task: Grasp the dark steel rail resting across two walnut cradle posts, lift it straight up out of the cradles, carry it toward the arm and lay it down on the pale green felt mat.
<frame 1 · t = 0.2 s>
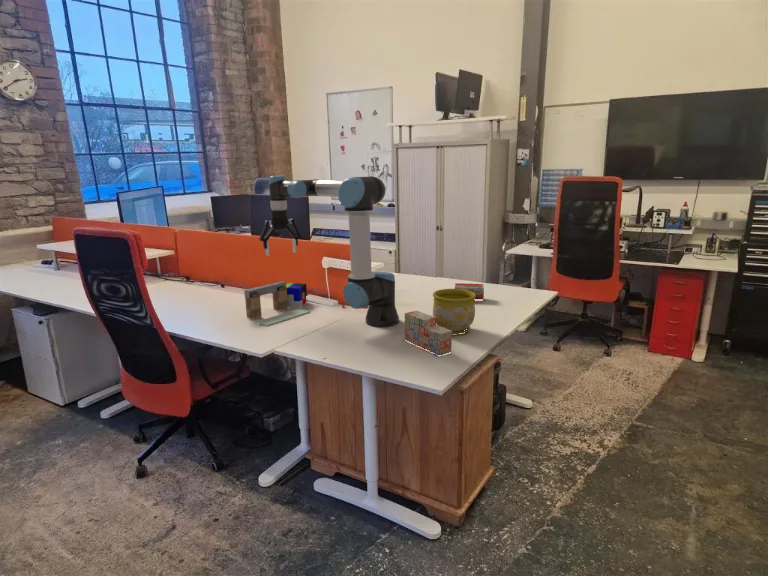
hand: (281, 254, 237), 28 cm above the table, tool pointing down, fingers open, 13 cm apart
puzzle toy: (294, 304, 254), on the table
mat: (283, 317, 232), on the table
medicine box: (468, 300, 259), on the table
flowerpot: (453, 331, 212), on the table
rail: (266, 293, 237), point 10 cm above the table, touching stand
stack of blocks: (427, 348, 193), on the table
stand: (267, 312, 240), on the table
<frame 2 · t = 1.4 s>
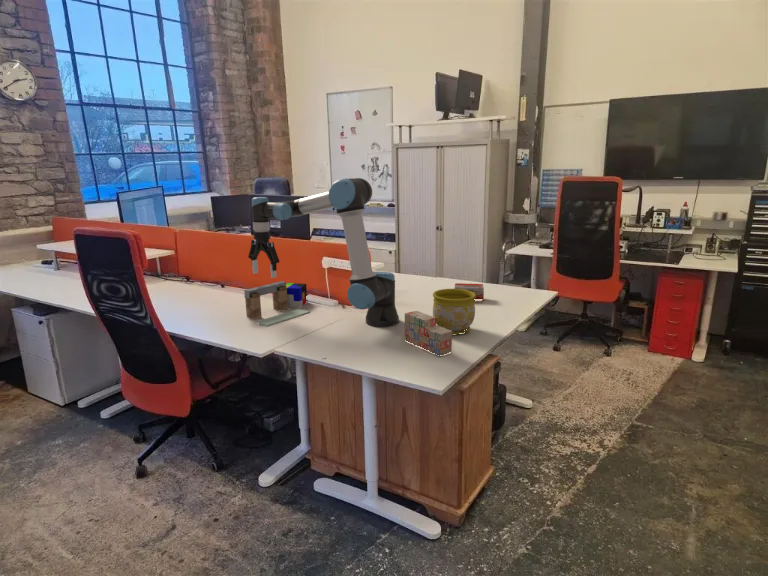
hand: (264, 275, 235), 19 cm above the table, tool pointing down, fingers open, 13 cm apart
nothing on the table moved.
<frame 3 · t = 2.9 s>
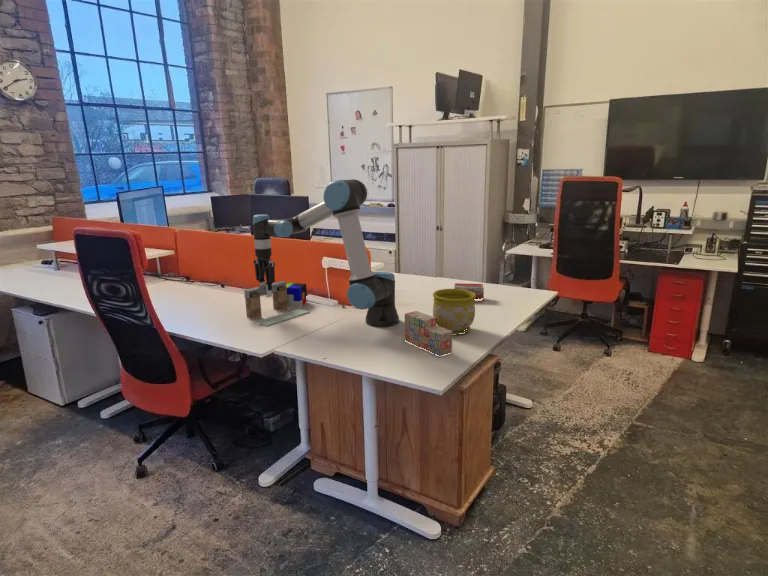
hand: (266, 295, 238), 9 cm above the table, tool pointing down, fingers closed on rail, 3 cm apart
rail: (266, 293, 237), point 10 cm above the table, touching gripper, stand
everything else where it was.
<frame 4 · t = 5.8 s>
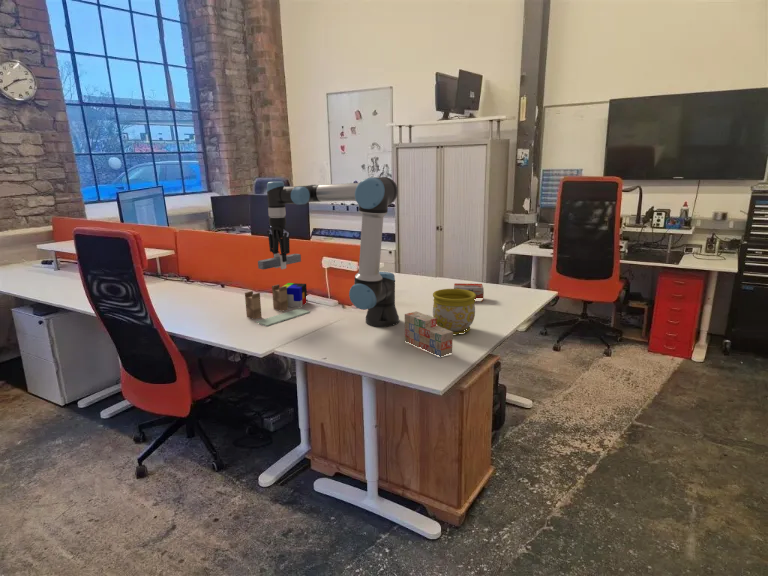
hand: (280, 268, 227), 24 cm above the table, tool pointing down, fingers closed on rail, 3 cm apart
rail: (280, 264, 226), point 25 cm above the table, touching gripper
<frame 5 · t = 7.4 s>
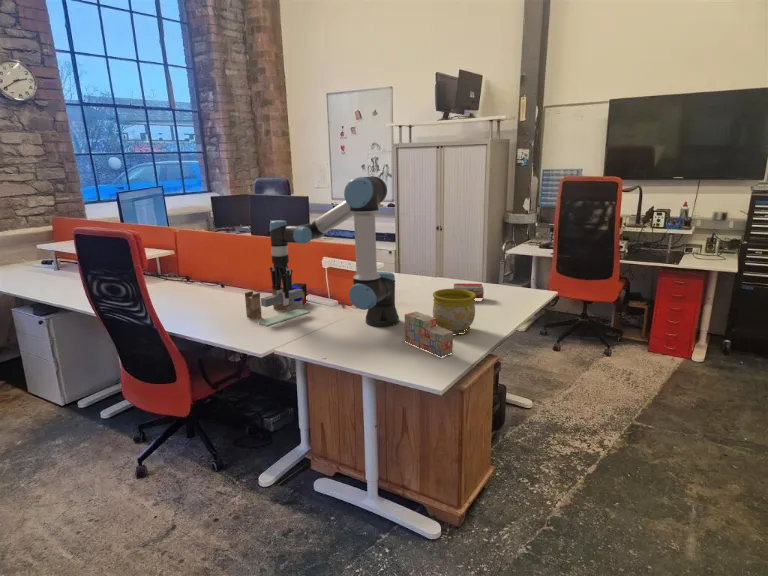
hand: (283, 304, 231), 7 cm above the table, tool pointing down, fingers closed on rail, 3 cm apart
rail: (282, 301, 230), point 8 cm above the table, touching gripper
when the fingers open (1 cm above the table, at t = 8.8 s): rail drops 2 cm, resting on mat.
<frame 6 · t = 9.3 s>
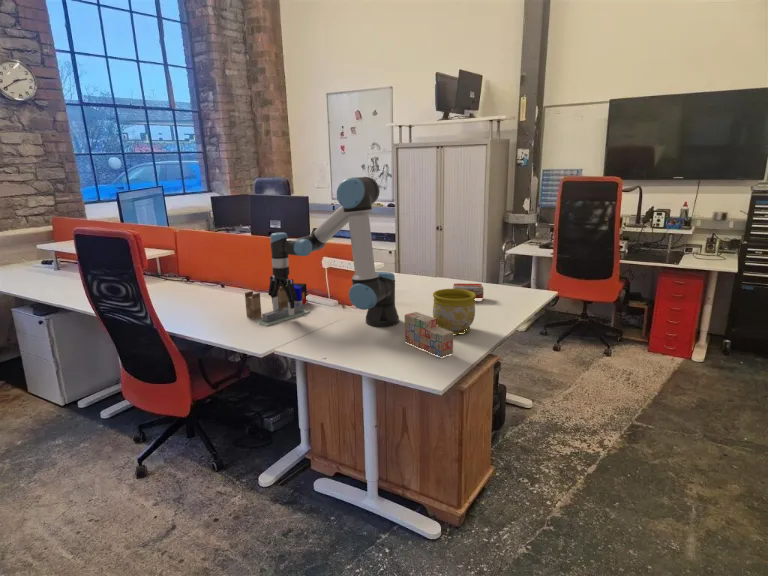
hand: (283, 312, 232), 2 cm above the table, tool pointing down, fingers open, 10 cm apart
rail: (283, 316, 232), point 1 cm above the table, touching mat
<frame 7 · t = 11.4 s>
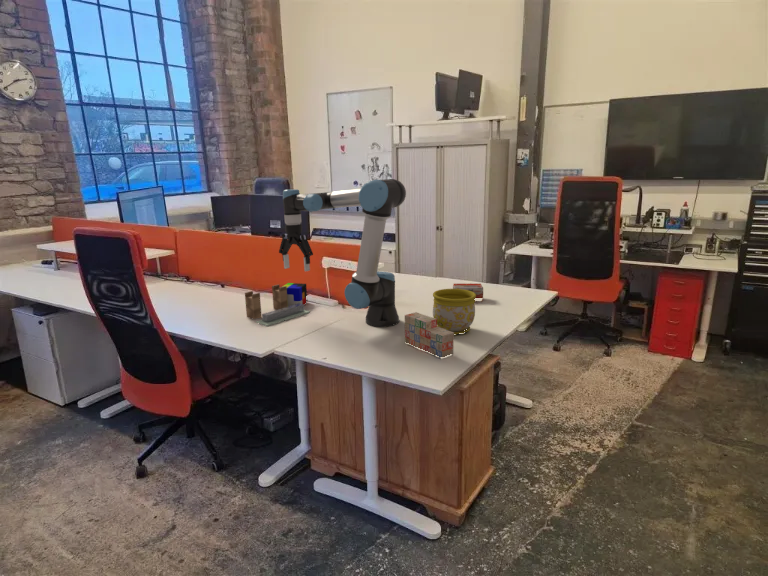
hand: (296, 269, 230), 22 cm above the table, tool pointing down, fingers open, 13 cm apart
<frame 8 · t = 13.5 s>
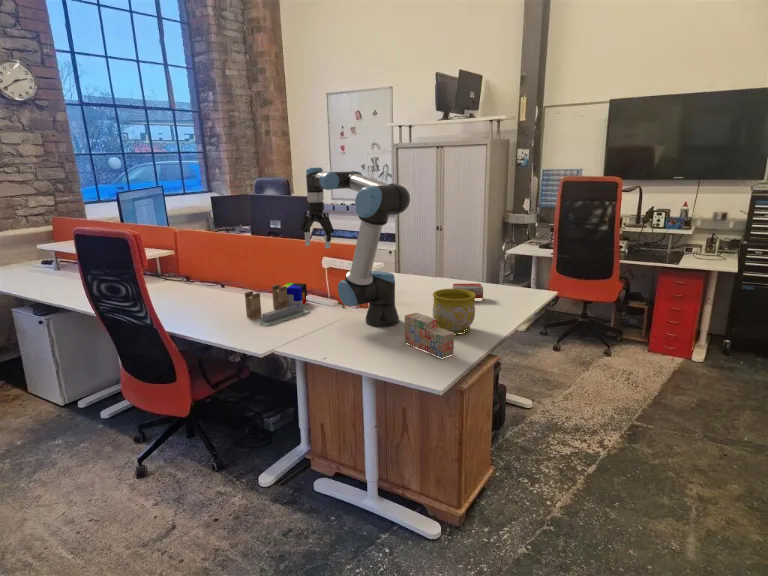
hand: (317, 246, 234), 32 cm above the table, tool pointing down, fingers open, 13 cm apart
at the end: rail inside the target area on the mat (0.1 cm from its centre), point 0.6 cm above the mat's base; rail touching mat; the gripper is holding nothing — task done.
